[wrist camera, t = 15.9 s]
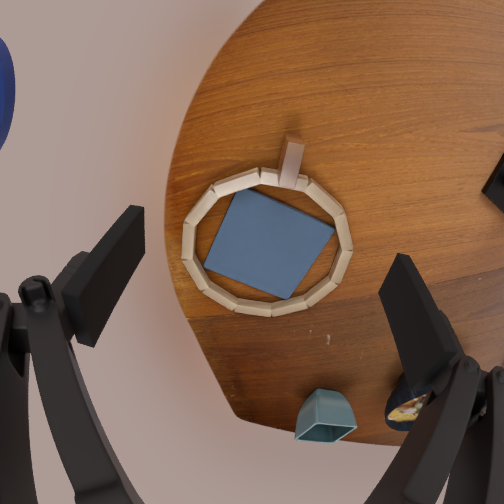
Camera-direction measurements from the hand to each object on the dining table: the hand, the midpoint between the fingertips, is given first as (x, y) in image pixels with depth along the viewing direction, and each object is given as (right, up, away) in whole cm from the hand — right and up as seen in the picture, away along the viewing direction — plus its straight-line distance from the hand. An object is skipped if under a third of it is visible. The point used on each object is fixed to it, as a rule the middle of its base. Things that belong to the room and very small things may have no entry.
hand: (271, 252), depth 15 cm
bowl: (+32, -24, +36) cm, 54 cm away
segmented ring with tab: (+1, +2, +21) cm, 21 cm away
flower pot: (+13, -28, +40) cm, 51 cm away
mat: (+1, +1, +22) cm, 22 cm away
